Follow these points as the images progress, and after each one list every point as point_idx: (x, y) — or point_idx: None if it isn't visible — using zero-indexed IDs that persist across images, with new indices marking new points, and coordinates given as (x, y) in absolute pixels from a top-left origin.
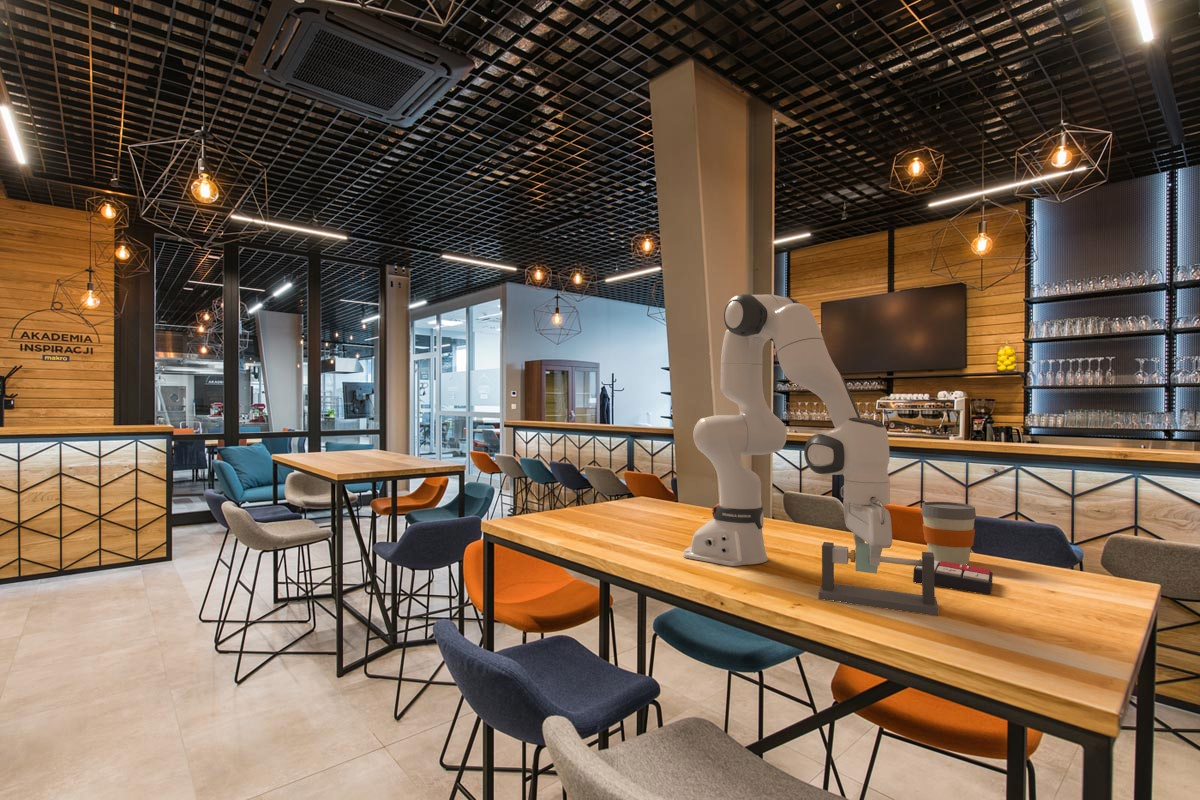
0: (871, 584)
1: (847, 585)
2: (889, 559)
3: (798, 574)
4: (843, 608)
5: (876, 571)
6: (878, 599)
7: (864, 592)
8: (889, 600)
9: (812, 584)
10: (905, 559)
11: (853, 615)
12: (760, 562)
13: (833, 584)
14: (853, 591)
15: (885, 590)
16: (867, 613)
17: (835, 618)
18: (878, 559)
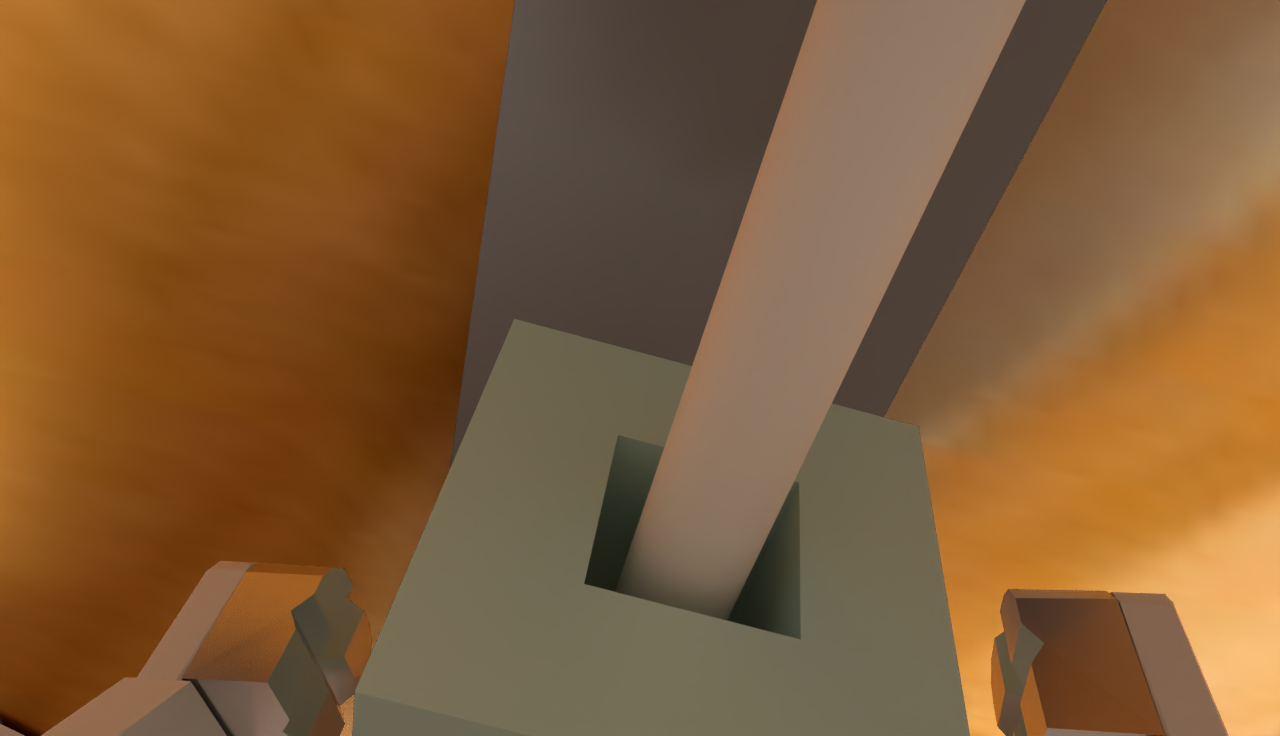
0: (43, 40)
1: (468, 400)
2: (840, 376)
3: (119, 580)
4: (997, 487)
5: (921, 454)
6: (949, 226)
7: (688, 305)
8: (984, 104)
9: (357, 550)
10: (977, 10)
11: (1200, 461)
12: (8, 734)
13: None
14: None
15: (530, 36)
16: (1153, 340)
17: (1261, 589)
18: (1205, 707)
